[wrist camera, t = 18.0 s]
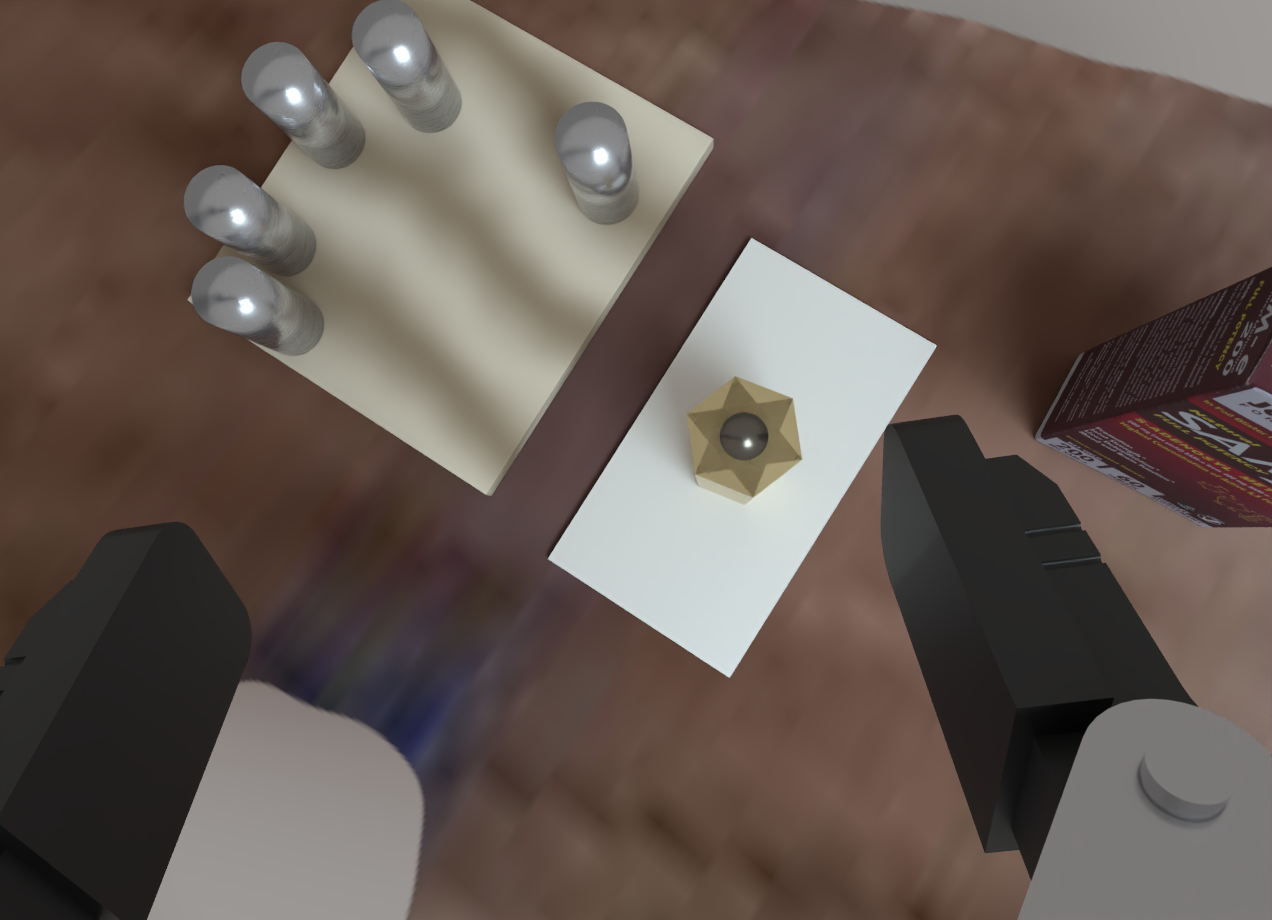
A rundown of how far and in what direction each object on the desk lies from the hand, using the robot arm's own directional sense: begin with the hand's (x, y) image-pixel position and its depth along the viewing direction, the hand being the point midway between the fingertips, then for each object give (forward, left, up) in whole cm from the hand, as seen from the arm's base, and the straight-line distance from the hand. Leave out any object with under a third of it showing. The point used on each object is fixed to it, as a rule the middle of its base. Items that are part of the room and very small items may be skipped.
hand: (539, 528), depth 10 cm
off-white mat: (+5, -1, -31) cm, 31 cm away
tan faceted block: (+5, -1, -30) cm, 31 cm away
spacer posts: (+5, +18, -30) cm, 35 cm away
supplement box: (+15, -16, -31) cm, 38 cm away
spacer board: (+7, +17, -31) cm, 36 cm away
